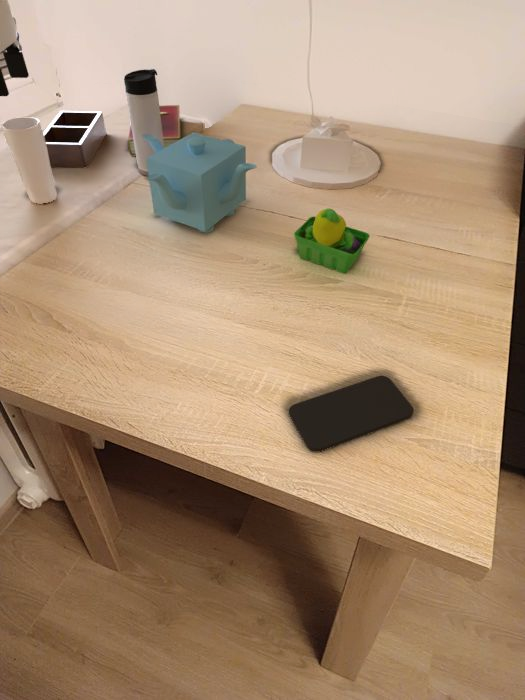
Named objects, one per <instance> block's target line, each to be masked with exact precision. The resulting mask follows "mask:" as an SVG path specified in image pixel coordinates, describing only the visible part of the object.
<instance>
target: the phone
mask: <svg viewBox="0 0 525 700" xmlns="http://www.w3.org/2000/svg"><path fill="white" fill-rule="evenodd" d="M414 412H415V409H414V407H413V405H412V404H411V403H410V402H409V400H408V399H407V398H406V396H405V395H404V394H403V393H402V391H401V390H400V389H399V388H398V387H397V385H396V384H395V382H393V381H392V379H391V378H390V377H389V376H387V375H377V376H374V377H371V378H368V379H364V380H362V381H358V382H356V383H353V384H350V385H347V386H344V387H341V388H338V389H335V390H333V391H330V392H327V393H323V394H321V395H318V396H317V395H316V396H314V397H312V398H309V399H308V398H307V399H306V400H303V401H299V402H296V403H294V404H292V405H290V407H289V409H288V416H289V415H290V416H289V418H290V417H291V418H290V420H291V419H292V420H291V422H292V421H293V422H292V423H294V424H293V425H294V427H295V426H296V427H295V428H297V429H296V431H297V432H298V431H299V432H298V434H299V433H300V434H299V436H300V435H301V436H300V437H301V439H302V438H303V439H302V441H303V440H304V441H303V443H304V442H305V443H306V444H305V443H304V444H305V446H306V445H307V446H306V448H307V449H308V448H309V449H310V450H309V449H308V450H309V451H311V450H312V451H311V452H313V451H320V452H323V451H326V450H328V449H327V448H329V449H331V448H334V447H337V446H339V445H338V444H340V445H342V444H345V443H347V441H348V442H350V441H353V440H355V438H356V439H358V438H361V437H363V435H364V436H366V435H369V434H371V432H372V433H374V432H376V431H380V430H383V429H386V428H388V427H391V426H393V425H396V424H398V423H402V422H404V421H406V420H409V419H410V418H412V417H413V414H414ZM390 425H391V426H390ZM382 428H383V429H382ZM379 429H380V430H379ZM368 433H369V434H368ZM360 436H361V437H360ZM352 439H353V440H352ZM349 440H350V441H349ZM344 442H345V443H344ZM341 443H342V444H341ZM336 445H337V446H336ZM333 446H334V447H333ZM330 447H331V448H330ZM325 449H326V450H325ZM322 450H323V451H322Z"/></svg>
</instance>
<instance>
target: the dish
mask: <svg viewBox="0 0 525 700" xmlns="http://www.w3.org/2000/svg"><path fill="white" fill-rule="evenodd" d="M308 120H309V125H310V126H311V127H313V128H312V129H311V130H310V131H309V132H307V133H306V134H304V135H303V136H302V137H299V138H295V139H291V140H288V141H285V142H283V143H281V144H280V145H277V147H276V148H275V149H274V150H273V152H272V154H271V162H272V163H271V165H272V169H274V171H275V172H276V173H277V174H278V176H280V177H281V178H283V179H285V180H287V181H288V182H291V183H294V184H297V185H300V186H304V187H307V188H313V189H321V190H322V189H324V190H342V189H352V188H355V187H359V186H362V184H363V185H366V184H368V183H370V182H371V181H373V180H374V179H376V178H377V177H378V174H379V172H378V171H380V169H381V164H382V163H381V160H380V157H379V156H378V154H377V153H376V152H375V151H373V150H372V148H371V149H370V147H368V146H366V145H363V144H361V143H359V142H357V141H354V140H353V139H352V138H351V137H350V135H348V133H347V132H346V131H351V126H350V125H349V124H347V123H338V121H337V120H336V119H335V118H334V117H333V116H332V115H330V116H329V117H328V118H326V119H325V120H324V121H322V119H321V118H319V117H318V116H315V115H310V116H309V118H308ZM376 176H377V177H376ZM373 178H374V179H373ZM370 180H371V181H370Z"/></svg>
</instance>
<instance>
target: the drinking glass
mask: <svg viewBox="0 0 525 700" xmlns="http://www.w3.org/2000/svg"><path fill="white" fill-rule="evenodd" d="M0 125H1V130H2V134H3V137H4V140H5V143H6V146H7V149H8V151H9V153H10V155H11V158H12V161H13V162H14V164H15V167H16V169H17V172H18V174H19V176H20V178H21V180H22V183H23V186H24V188H25V190H26V193H27V196H28V198H29V201H30V202H31V203H33V204H36V203H37V204H36V205H44V204H43V203H47V204H49V203H48V202H50V203H52V202H54V201H55V200H56V199H57V198H56V197H58V193H57V188H56V185H55V180H54V175H53V171H52V167H51V165H50V160H49V155H48V150H47V145H46V141H45V137H44V131H43V127H42V125H41V122H40V119H38V118H36V117H32V116H19V117H14V118H9V119H7V120H5V121H3V122H2V123H1V124H0ZM53 200H54V201H53ZM51 201H52V202H51Z"/></svg>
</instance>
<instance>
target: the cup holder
mask: <svg viewBox="0 0 525 700" xmlns="http://www.w3.org/2000/svg"><path fill="white" fill-rule="evenodd" d="M43 133H44V137H45V141H46V145H47V150H48V155H49V160H50V165H51V168H59V169H60V168H62V169H63V168H66V169H85V168H84V167H87V166H88V167H89V165H90V163H91V161H92V160H93V159H94V156H95V155H96V153H97V151H98V149H99V147H100V146H101V144H102V142H103V140H104V139H105V137H106V136H107V130H106V125H105V119H104V115H103V111H85V110H84V111H81V110H80V111H79V110H60V111H59V112H58V114H57V115H55V117H54V118H53V120H52V121H51V122H50V123H49V125H48V126H47V127H46V129H45V130H44V131H43ZM88 167H87V168H88Z"/></svg>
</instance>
